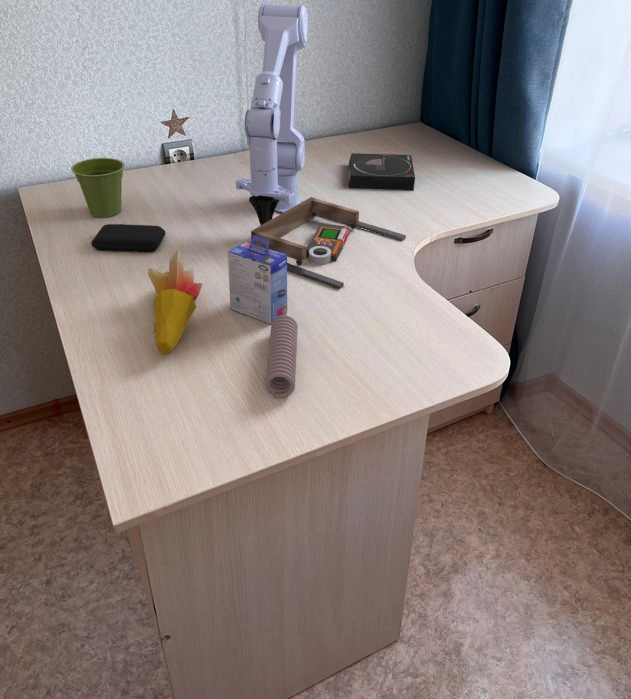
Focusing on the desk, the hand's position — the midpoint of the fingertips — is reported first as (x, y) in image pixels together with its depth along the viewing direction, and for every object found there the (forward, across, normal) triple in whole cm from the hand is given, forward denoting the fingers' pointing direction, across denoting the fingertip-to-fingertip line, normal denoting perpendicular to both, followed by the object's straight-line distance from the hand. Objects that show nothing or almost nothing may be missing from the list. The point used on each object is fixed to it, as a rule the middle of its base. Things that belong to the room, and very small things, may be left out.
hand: (265, 226), depth 148 cm
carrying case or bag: (+3, -23, -20) cm, 30 cm away
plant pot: (+3, -39, -12) cm, 41 cm away
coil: (+3, +31, -36) cm, 47 cm away
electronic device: (+3, +14, +3) cm, 15 cm away
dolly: (+2, +8, +4) cm, 10 cm away
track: (+3, +13, +4) cm, 14 cm away
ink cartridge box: (+3, +18, -25) cm, 31 cm away
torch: (+3, +7, -37) cm, 38 cm away
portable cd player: (+3, +3, +46) cm, 46 cm away
